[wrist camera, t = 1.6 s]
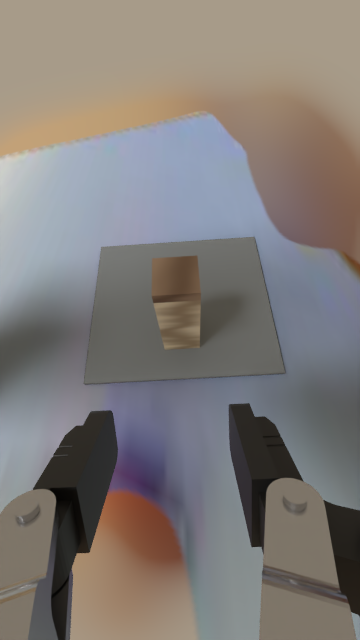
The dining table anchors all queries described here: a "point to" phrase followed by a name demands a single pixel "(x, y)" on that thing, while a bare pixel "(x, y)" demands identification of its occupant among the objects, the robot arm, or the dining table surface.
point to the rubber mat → (215, 316)
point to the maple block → (177, 300)
